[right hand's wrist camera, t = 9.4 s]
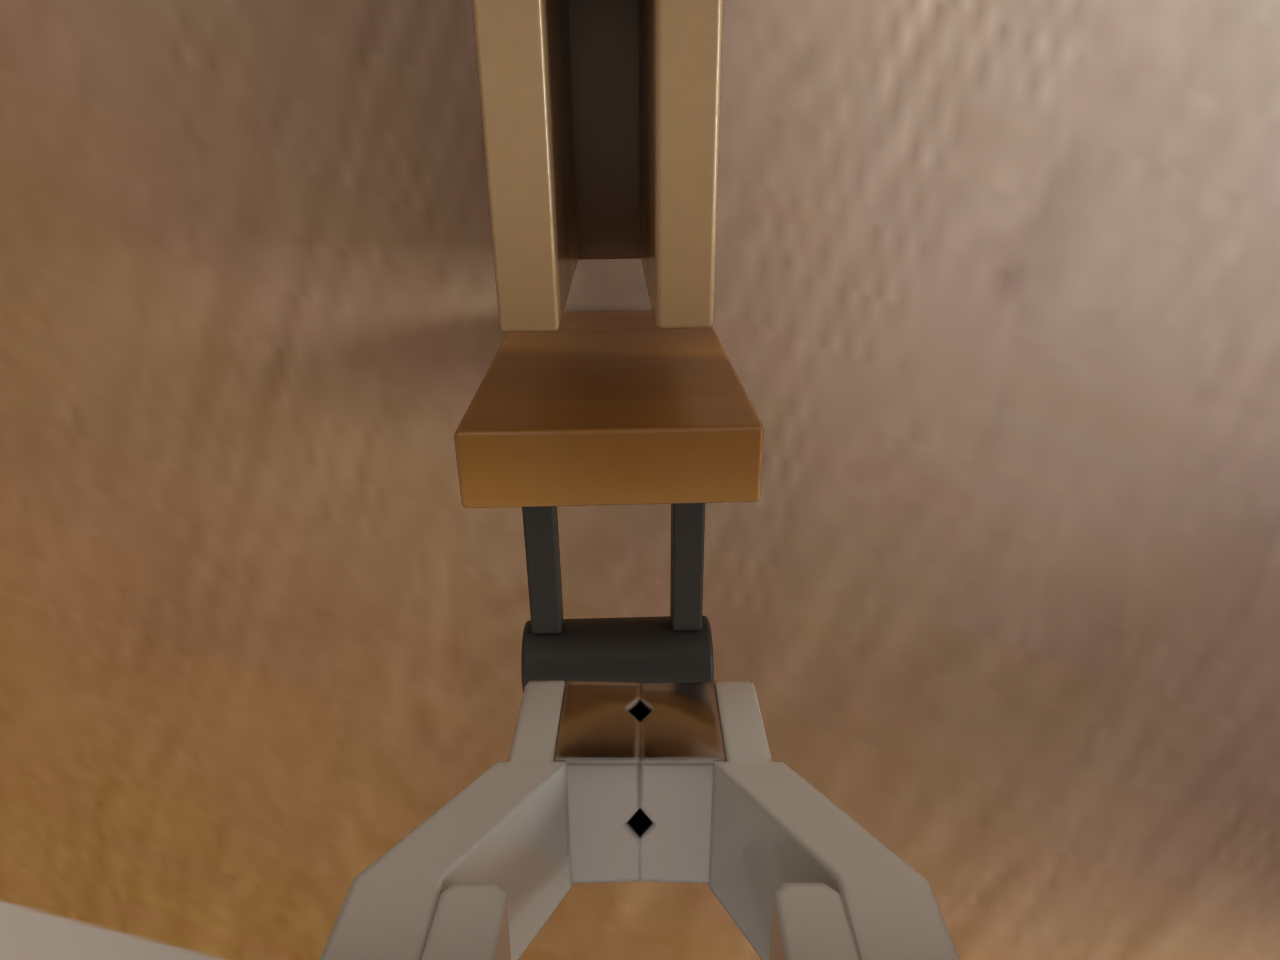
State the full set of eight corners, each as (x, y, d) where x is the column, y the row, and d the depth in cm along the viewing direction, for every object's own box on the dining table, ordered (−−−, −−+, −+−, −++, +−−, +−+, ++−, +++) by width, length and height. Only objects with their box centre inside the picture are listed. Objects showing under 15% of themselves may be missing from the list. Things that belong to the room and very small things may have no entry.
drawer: (698, 572, 21) (743, 802, 14) (536, 575, 21) (495, 809, 14) (726, -608, 12) (888, -1655, 5) (449, -610, 12) (211, -1688, 5)
